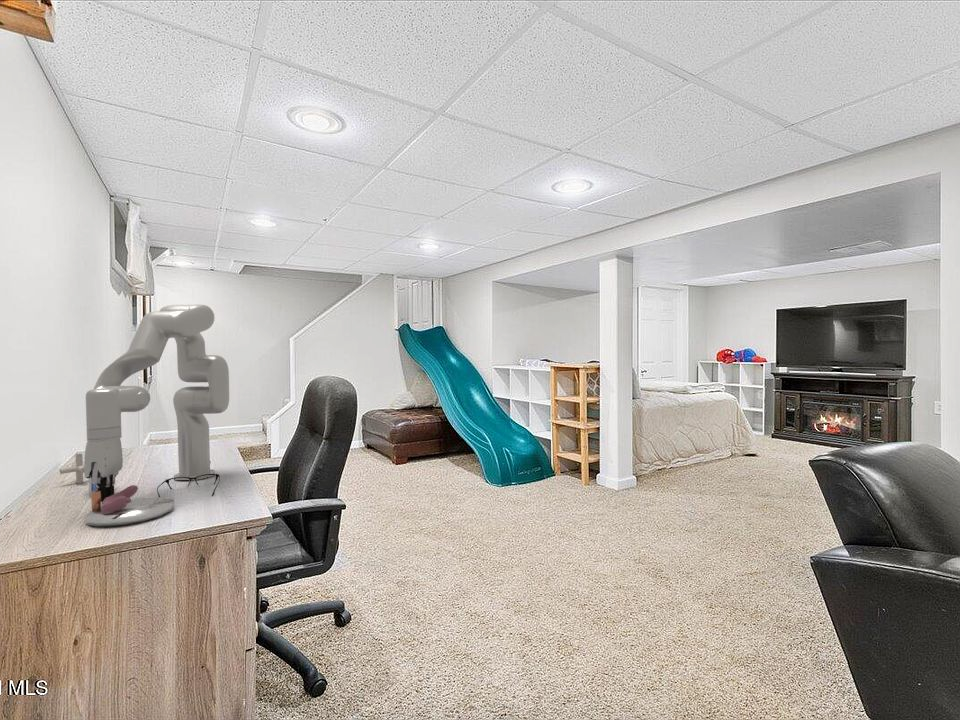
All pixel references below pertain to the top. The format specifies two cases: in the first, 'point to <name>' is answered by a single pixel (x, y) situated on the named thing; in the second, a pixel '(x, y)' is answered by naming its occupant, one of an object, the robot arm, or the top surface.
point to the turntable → (128, 511)
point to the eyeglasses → (190, 481)
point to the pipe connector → (76, 468)
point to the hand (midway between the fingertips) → (106, 500)
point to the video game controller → (118, 500)
